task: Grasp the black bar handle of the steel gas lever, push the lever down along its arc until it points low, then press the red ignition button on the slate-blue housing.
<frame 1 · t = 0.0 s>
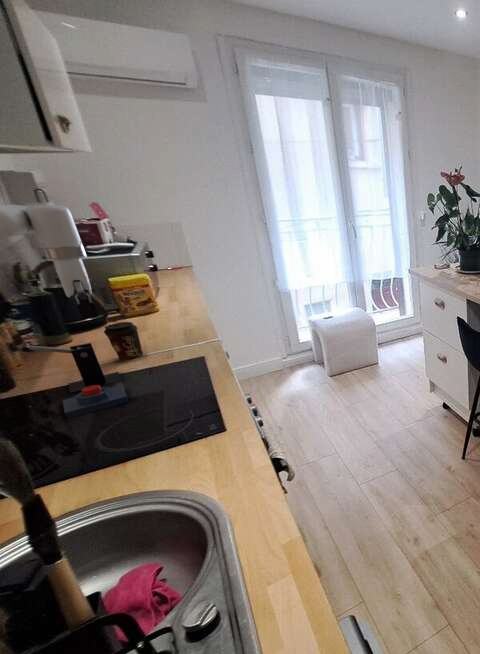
hand: (89, 313, 115), 24 cm above the counter, tool pointing down, fingers open, 9 cm apart
lever bracket: (96, 385, 126), on the counter
coffee cup: (131, 360, 144), on the counter
gas lever: (57, 350, 118), point 13 cm above the counter, hinge at 25.0°
igniter button: (91, 390, 113), point 5 cm above the counter, slide at 0.2 cm
igniter: (97, 405, 115), on the counter
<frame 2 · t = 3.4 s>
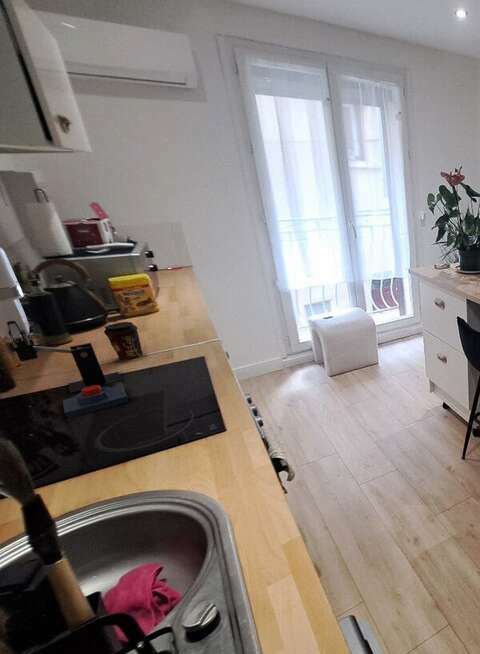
hand: (29, 356, 114), 13 cm above the counter, tool pointing down, fingers closed on gas lever, 5 cm apart
gas lever: (57, 350, 118), point 13 cm above the counter, hinge at 25.0°, touching gripper
everything else where it was.
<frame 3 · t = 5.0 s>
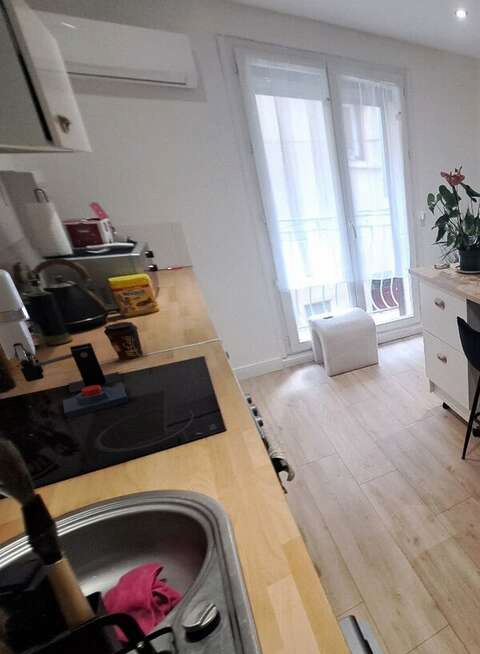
hand: (35, 376, 116), 7 cm above the counter, tool pointing down, fingers closed on gas lever, 5 cm apart
gas lever: (58, 358, 118), point 11 cm above the counter, hinge at -5.4°, touching gripper
everything else where it was.
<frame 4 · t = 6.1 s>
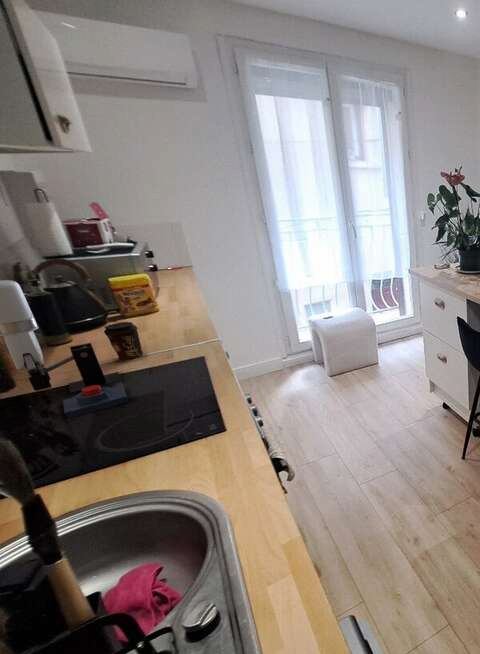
hand: (42, 384, 117), 4 cm above the counter, tool pointing down, fingers open, 5 cm apart
gas lever: (61, 362, 119), point 9 cm above the counter, hinge at -20.5°
everything else where it was.
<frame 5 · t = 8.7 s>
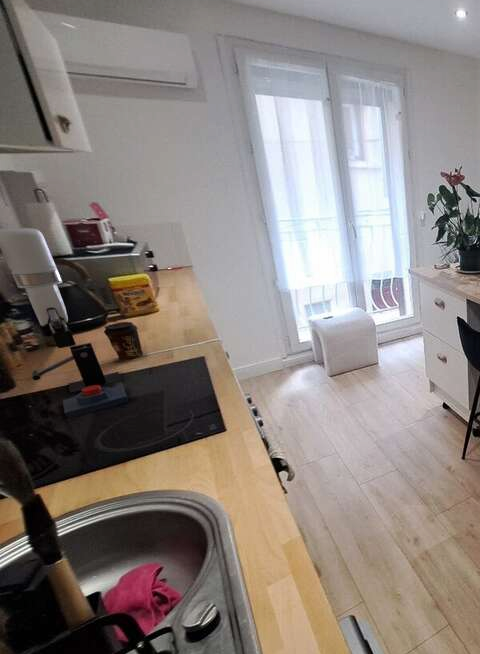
hand: (65, 342, 109), 19 cm above the counter, tool pointing down, fingers open, 9 cm apart
nothing on the counter moved.
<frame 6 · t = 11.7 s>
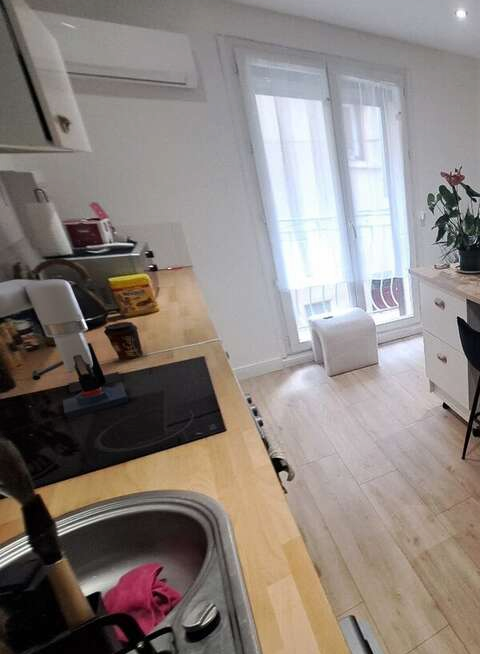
hand: (92, 389, 113), 5 cm above the counter, tool pointing down, fingers closed
igniter button: (92, 392, 113), point 4 cm above the counter, slide at -0.3 cm, touching gripper
everything else where it was.
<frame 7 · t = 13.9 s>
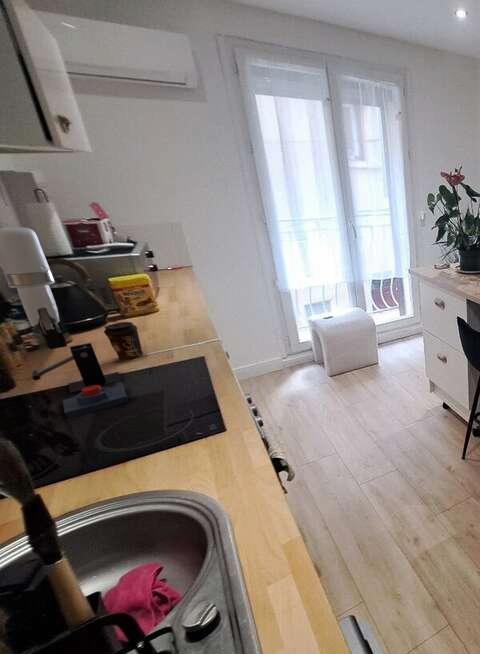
hand: (58, 346, 108), 18 cm above the counter, tool pointing down, fingers closed
igniter button: (91, 390, 113), point 5 cm above the counter, slide at 0.2 cm
everything else where it was.
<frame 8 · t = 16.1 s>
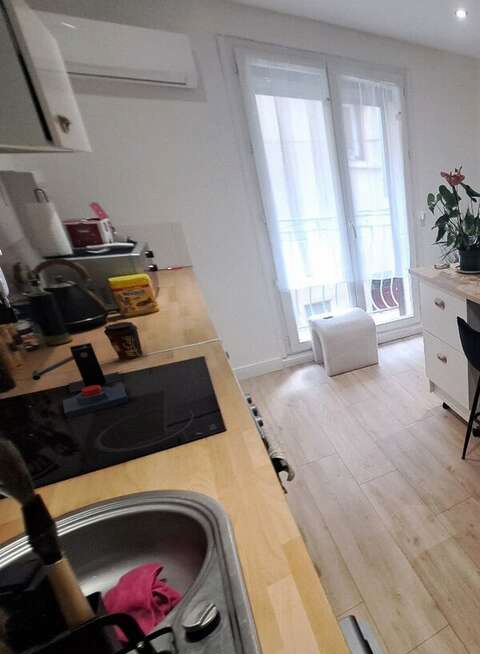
hand: (9, 322, 104), 25 cm above the counter, tool pointing down, fingers closed
nothing on the counter moved.
at the end: gas lever at -20° (first picture: +25°); igniter button pushed in 1.1 cm at the most during the clip, back to 0.2 cm at the end; igniter button slide at 0.2 cm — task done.
